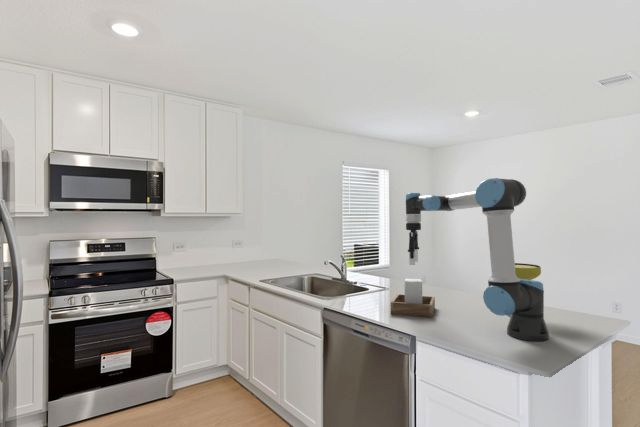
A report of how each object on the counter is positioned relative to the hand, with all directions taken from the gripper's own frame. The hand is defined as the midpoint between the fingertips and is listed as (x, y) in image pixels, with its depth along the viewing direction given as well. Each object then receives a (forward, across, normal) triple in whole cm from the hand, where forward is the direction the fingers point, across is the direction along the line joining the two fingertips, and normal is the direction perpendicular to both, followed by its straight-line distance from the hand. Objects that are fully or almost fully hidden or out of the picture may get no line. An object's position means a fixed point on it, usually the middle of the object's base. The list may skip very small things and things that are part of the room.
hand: (413, 263), depth 193 cm
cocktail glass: (+25, -6, +50) cm, 56 cm away
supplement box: (+24, -1, 0) cm, 24 cm away
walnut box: (+25, 0, 0) cm, 25 cm away
